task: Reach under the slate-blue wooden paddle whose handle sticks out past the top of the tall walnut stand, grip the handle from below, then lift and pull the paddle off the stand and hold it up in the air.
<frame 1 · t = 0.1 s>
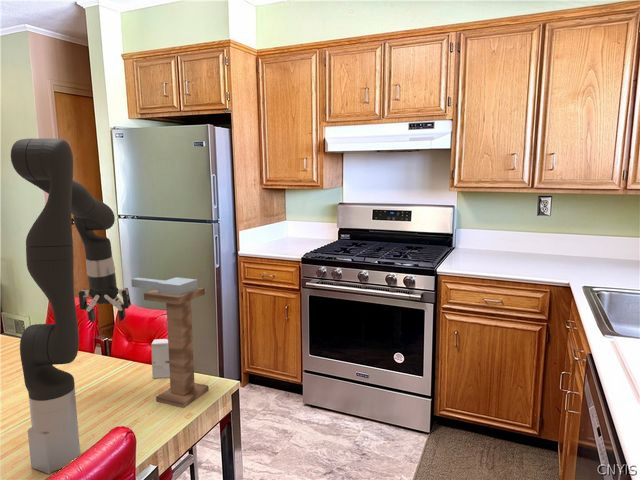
hand: (107, 320, 139), 23 cm above the table, tool pointing down, fingers open, 8 cm apart
stand: (183, 395, 138), on the table
skincare box: (163, 375, 153), on the table
paddle: (178, 291, 134), point 33 cm above the table, touching stand
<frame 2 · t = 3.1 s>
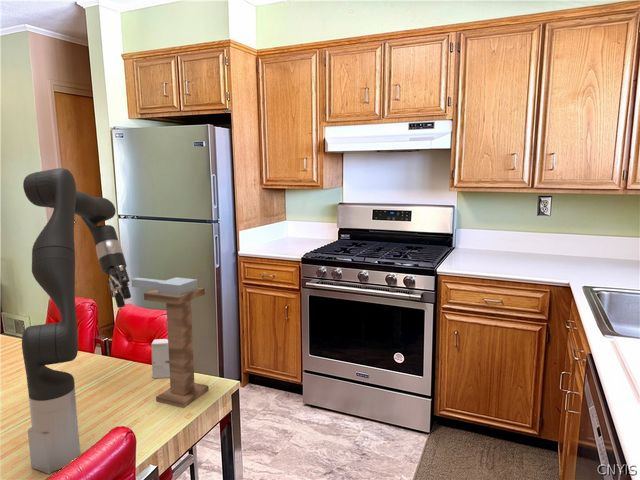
hand: (124, 302, 142), 27 cm above the table, tool tilted 30°, fingers open, 8 cm apart
nothing on the table moved.
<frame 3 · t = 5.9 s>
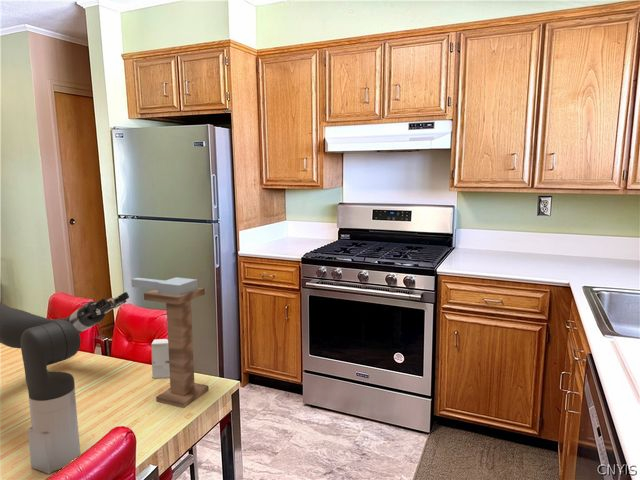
hand: (116, 297, 144), 28 cm above the table, tool pointing upward, fingers open, 8 cm apart
nothing on the table moved.
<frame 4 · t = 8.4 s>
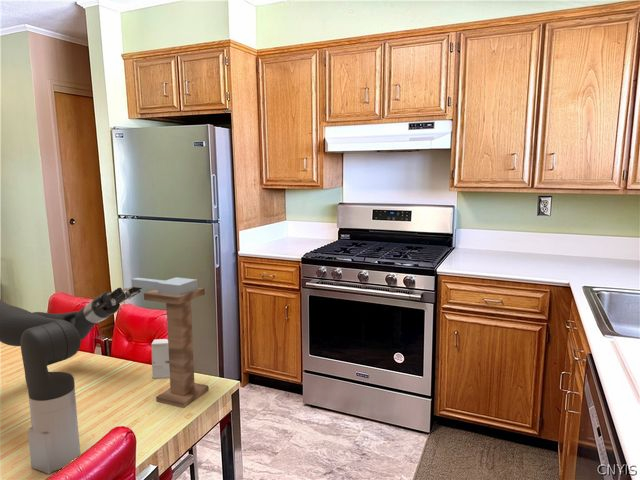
hand: (131, 287, 142), 32 cm above the table, tool pointing upward, fingers open, 8 cm apart
nothing on the table moved.
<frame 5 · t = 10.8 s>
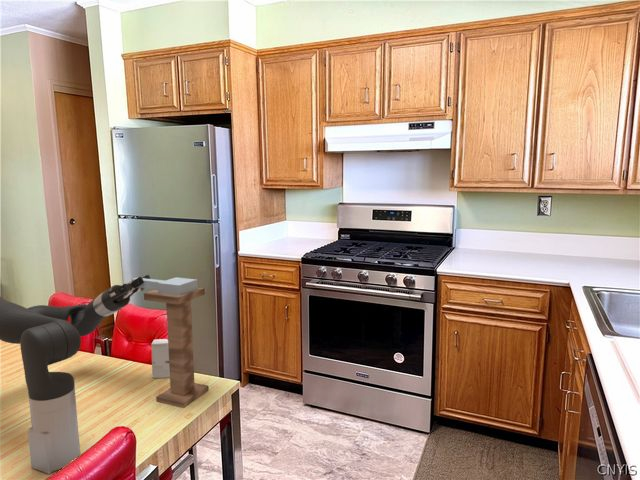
hand: (145, 278, 138), 36 cm above the table, tool pointing upward, fingers closed on paddle, 2 cm apart
paddle: (178, 291, 134), point 33 cm above the table, touching gripper, stand
everything else where it was.
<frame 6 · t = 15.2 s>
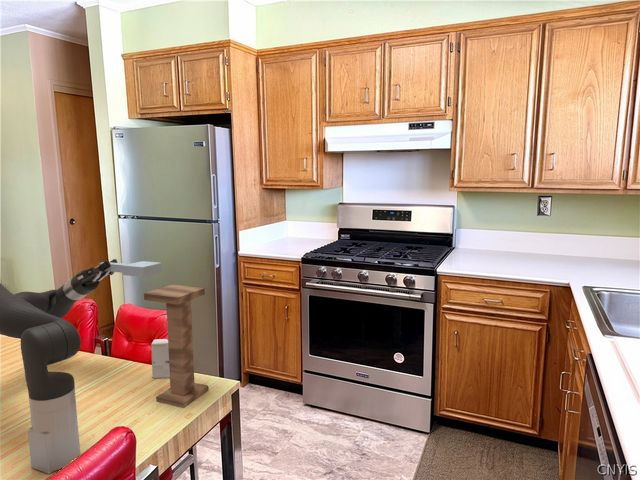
hand: (112, 262, 144), 40 cm above the table, tool pointing upward, fingers closed on paddle, 2 cm apart
paddle: (142, 273, 139), point 37 cm above the table, touching gripper
everything else where it was.
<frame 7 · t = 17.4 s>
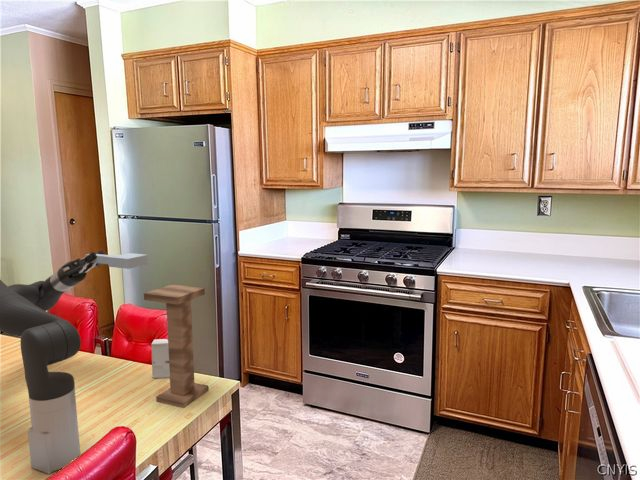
hand: (98, 254, 143), 42 cm above the table, tool pointing upward, fingers closed on paddle, 2 cm apart
paddle: (128, 265, 139), point 40 cm above the table, touching gripper
everything else where it was.
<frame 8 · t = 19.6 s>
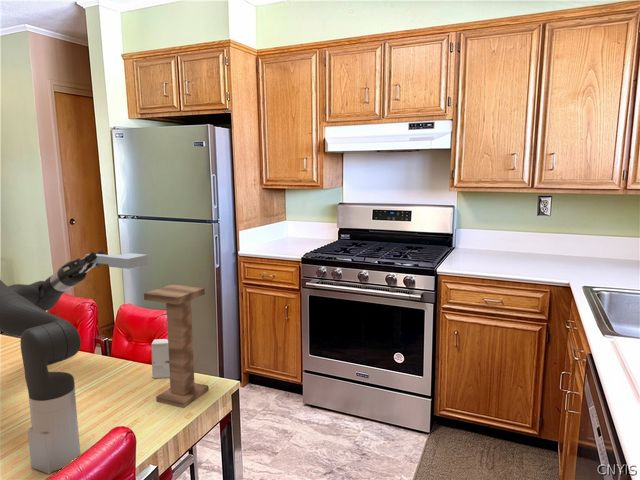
hand: (98, 254, 143), 42 cm above the table, tool pointing upward, fingers closed on paddle, 2 cm apart
paddle: (128, 265, 139), point 40 cm above the table, touching gripper
everything else where it was.
at the end: the gripper is holding paddle; paddle touching gripper; paddle point 39.6 cm above the table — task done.
